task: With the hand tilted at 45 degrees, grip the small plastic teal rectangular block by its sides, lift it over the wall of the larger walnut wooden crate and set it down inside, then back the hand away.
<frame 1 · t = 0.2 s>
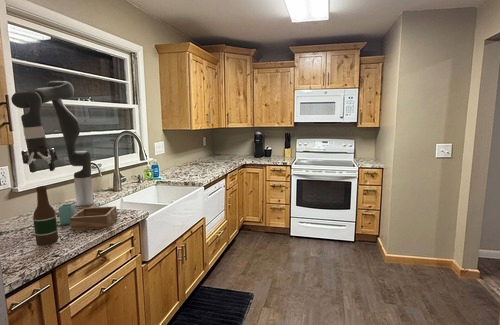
hand: (42, 171, 135), 28 cm above the worktop, tool pointing down, fingers open, 8 cm apart
walnut crate: (95, 223, 145), on the worktop
beer bottle: (47, 242, 122), on the worktop
teal rectangular block: (68, 222, 146), on the worktop
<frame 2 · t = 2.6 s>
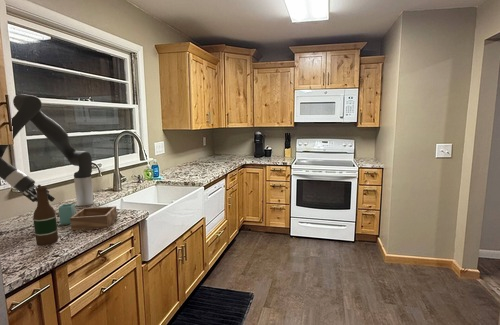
hand: (50, 202, 143), 11 cm above the worktop, tool tilted 45°, fingers open, 8 cm apart
nothing on the worktop moved.
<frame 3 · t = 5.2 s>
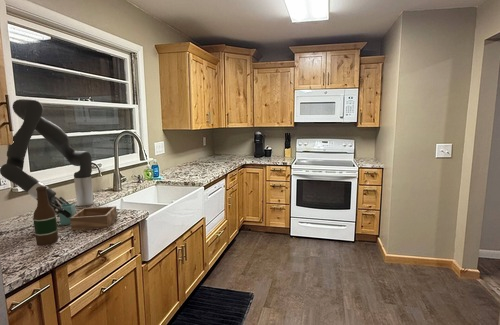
hand: (71, 214, 146), 4 cm above the worktop, tool tilted 45°, fingers closed on teal rectangular block, 5 cm apart
teal rectangular block: (68, 222, 146), on the worktop, touching gripper
everything else where it was.
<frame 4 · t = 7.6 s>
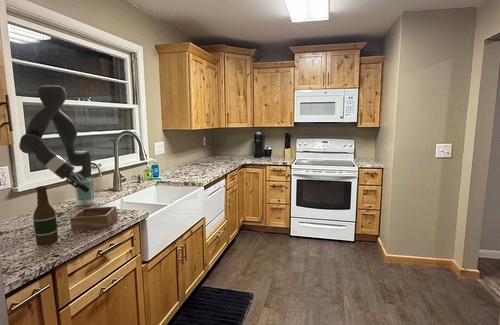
hand: (89, 189, 143), 17 cm above the worktop, tool tilted 45°, fingers closed on teal rectangular block, 5 cm apart
teal rectangular block: (86, 198, 143), point 13 cm above the worktop, touching gripper
everything else where it was.
when the fingers open (7 cm above the worktop, at t = 10.3 s): teal rectangular block drops 1 cm, resting on walnut crate.
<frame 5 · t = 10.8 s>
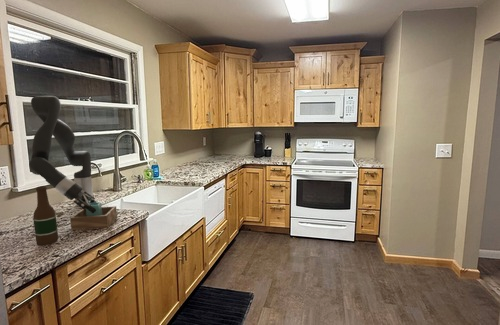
hand: (97, 209, 144), 7 cm above the worktop, tool tilted 45°, fingers open, 8 cm apart
teal rectangular block: (95, 221, 145), point 1 cm above the worktop, touching walnut crate
everything else where it was.
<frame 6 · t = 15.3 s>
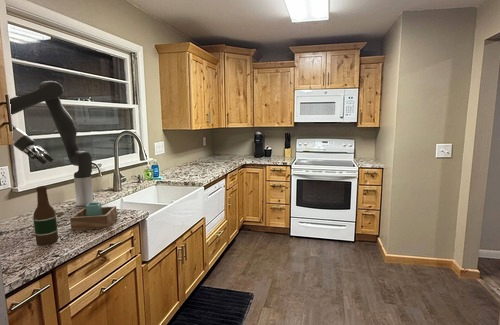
hand: (49, 161, 147), 31 cm above the worktop, tool tilted 45°, fingers open, 8 cm apart
nothing on the worktop moved.
at the end: teal rectangular block inside the target area on the walnut crate (0.1 cm from its centre), point 1.0 cm above the walnut crate's base; teal rectangular block tilted 0°; the gripper is holding nothing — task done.
